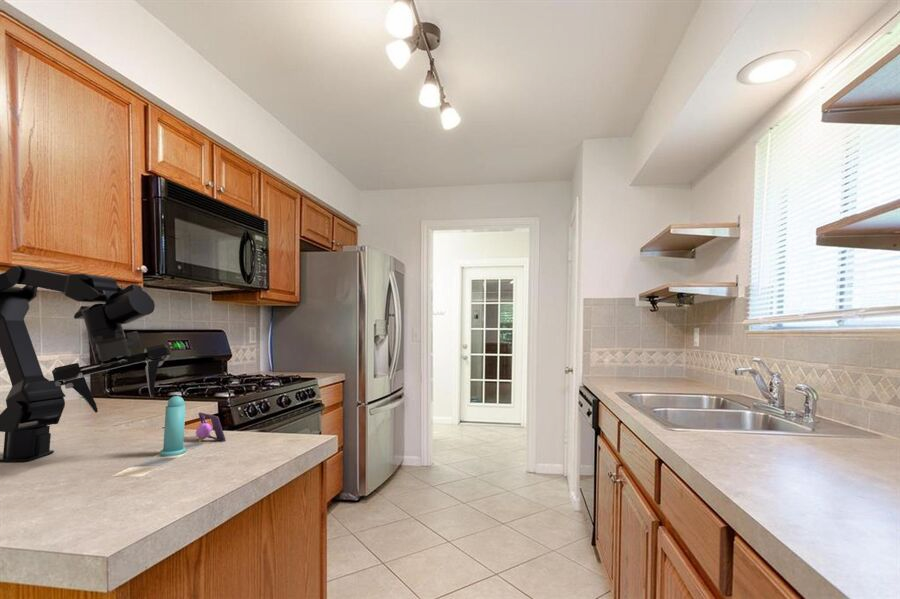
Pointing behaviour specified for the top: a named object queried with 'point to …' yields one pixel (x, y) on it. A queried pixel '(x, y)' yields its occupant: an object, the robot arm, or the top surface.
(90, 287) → the robot arm
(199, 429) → the purple piece
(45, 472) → the top surface
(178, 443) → the pawn
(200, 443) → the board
